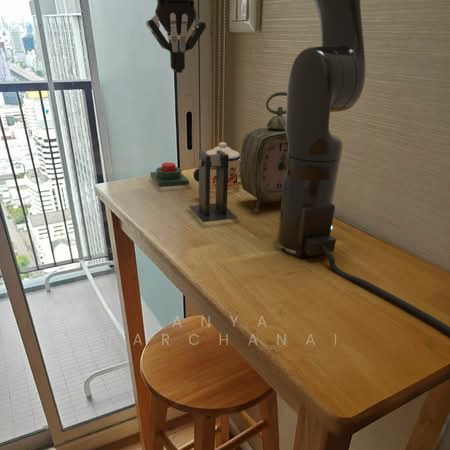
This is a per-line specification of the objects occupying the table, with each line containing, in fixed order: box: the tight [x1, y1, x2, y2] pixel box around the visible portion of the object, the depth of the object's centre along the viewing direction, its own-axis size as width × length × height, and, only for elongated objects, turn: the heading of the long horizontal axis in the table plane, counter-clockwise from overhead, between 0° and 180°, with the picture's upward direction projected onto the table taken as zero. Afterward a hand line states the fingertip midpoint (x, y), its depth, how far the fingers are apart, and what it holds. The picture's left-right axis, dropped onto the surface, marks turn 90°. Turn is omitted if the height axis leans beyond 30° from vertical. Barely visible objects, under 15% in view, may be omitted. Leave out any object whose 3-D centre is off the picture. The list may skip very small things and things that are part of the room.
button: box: [161, 162, 177, 172], centre depth 109 cm, size 4×4×2 cm
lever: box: [193, 154, 221, 183], centre depth 90 cm, size 13×3×3 cm
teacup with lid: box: [205, 141, 241, 190], centre depth 107 cm, size 12×9×12 cm
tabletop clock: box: [239, 91, 288, 213], centre depth 91 cm, size 14×9×25 cm, turn 114°
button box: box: [149, 166, 190, 188], centre depth 110 cm, size 10×8×4 cm
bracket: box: [188, 150, 238, 223], centre depth 88 cm, size 10×8×14 cm
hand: (178, 72), depth 90 cm, fingers closed
